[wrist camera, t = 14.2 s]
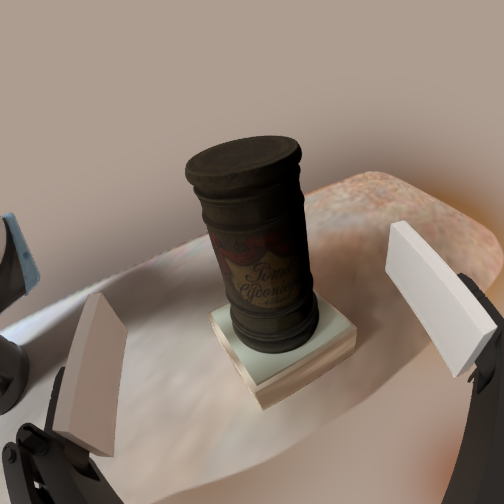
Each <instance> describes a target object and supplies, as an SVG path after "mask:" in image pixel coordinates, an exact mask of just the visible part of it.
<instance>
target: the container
mask: <svg viewBox="0 0 504 504" xmlns="http://www.w3.org/2000/svg"><path fill="white" fill-rule="evenodd" d="M301 157H302V151H301V148H300V145H299V144H298V142H297V141H296V140H294V139H292V138H289V137H284V136H256V137H249V138H243V139H238V140H233V141H229V142H226V143H222V144H219V145H216V146H214V147H211V148H208V149H206V150H204V151H202V152H200V153H198V154H197V155H195V156H193V157H192V158H191V159H190V160H189V161H188V162H187V164H186V168H185V175H186V178H187V180H188V182H189V183H190V184H192V185H193V186H194V187H193V188H194V189H193V190H194V193H195V194H196V195H197V197H198V199H199V200H200V202H201V206H202V209H203V210H202V218H203V221H204V223H205V224H206V226H207V229H208V232H209V236H210V239H211V243H212V246H213V249H214V252H215V255H216V257H217V260H218V263H219V267H220V270H221V273H222V276H223V279H224V283H225V286H226V296H227V299H228V301H229V302H230V317H231V320H232V325H233V329H234V332H235V334H236V335H237V337H238V338H239V339H240V340H241V342H242V343H243V344H245V345H246V346H247V347H249V348H251V349H252V350H255V351H257V352H261V353H266V354H280V353H285V352H289V351H292V350H295V349H297V348H299V347H300V346H302V345H303V344H305V343H306V342H307V341H308V340H309V339H310V338H311V337H312V335H313V334H314V332H315V330H316V328H317V326H318V323H319V308H318V300H317V297H316V294H315V292H314V291H313V276H312V274H311V271H310V262H309V251H308V241H307V230H306V221H305V212H304V201H305V199H304V195H303V193H302V191H301V189H300V182H299V176H300V175H299V174H300V171H301V169H300V166H299V164H298V163H299V162H300V160H301Z"/></svg>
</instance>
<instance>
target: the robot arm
mask: <svg viewBox="0 0 504 504" xmlns="http://www.w3.org/2000/svg"><path fill="white" fill-rule="evenodd" d="M385 271H386V273H387V274H388V275H389V277H390V278H391V280H392V281H393V282H394V284H395V285H396V287H397V288H398V289H399V291H400V292H401V294H402V295H403V297H404V298H405V300H406V301H407V302H408V304H409V305H410V307H411V308H412V310H413V311H414V313H415V314H416V316H417V318H418V319H419V321H420V322H421V324H422V325H423V327H424V328H425V330H426V331H427V333H428V335H429V336H430V338H431V339H432V341H433V343H434V344H435V346H436V348H437V349H438V351H439V353H440V354H441V356H442V358H443V359H444V361H445V363H446V364H447V366H448V368H449V370H450V371H451V373H452V375H453V377H454V378H456V377H458V376H460V375H461V374H463V373H465V372H466V371H468V370H469V369H470V367H471V366H472V365H473V363H474V362H475V364H476V366H477V368H476V369H475V371H474V372H473V373H472V375H471V376H470V377H469V379H468V382H470V381H471V380H472V379H473V378H474V382H473V390H472V396H471V403H470V408H469V413H468V418H467V423H466V427H465V432H464V436H463V440H462V444H461V447H460V451H459V454H458V458H457V462H456V464H455V468H454V471H453V474H452V477H451V480H450V482H449V485H448V488H447V490H446V493H445V496H444V498H443V501H442V503H441V504H504V318H503V317H502V316H501V315H500V313H499V312H498V311H497V309H496V308H495V307H494V306H493V304H492V303H491V302H490V301H489V299H488V298H487V297H485V294H484V293H483V292H482V291H481V290H479V287H478V286H477V285H476V284H475V283H474V281H473V280H472V279H470V278H469V277H467V276H466V275H464V274H463V273H460V274H457V275H456V274H455V273H454V272H453V271H452V269H451V268H450V267H449V266H448V265H447V264H446V263H445V262H444V261H443V259H442V258H441V257H440V256H439V255H438V254H437V253H436V252H435V251H434V250H433V249H432V248H431V247H430V246H429V245H428V243H427V242H426V241H425V240H424V239H423V238H422V237H421V236H420V235H419V234H418V233H417V232H416V231H415V230H414V229H413V228H412V227H411V226H410V225H409V224H408V223H407V222H406V221H405V220H404V221H400V222H395V223H391V227H390V236H389V245H388V253H387V260H386V267H385ZM39 281H40V273H39V270H38V268H37V266H36V263H35V261H34V259H33V257H32V254H31V252H30V250H29V248H28V246H27V244H26V241H25V239H24V236H23V234H22V232H21V229H20V227H19V225H18V222H17V220H16V217H15V216H14V214H13V213H8V214H5V215H3V216H2V218H1V217H0V315H1V314H2V313H3V312H4V311H6V310H7V309H8V308H9V307H11V306H12V305H13V304H14V303H16V302H17V301H18V300H19V299H21V298H22V297H23V296H27V295H28V293H29V292H30V291H31V290H32V289H33V288H34V287H35V286H37V284H38V283H39ZM127 333H128V330H127V329H126V328H125V326H124V325H123V323H122V322H121V321H120V319H119V318H118V316H117V315H116V313H115V312H114V310H113V309H112V307H111V306H110V304H109V303H108V301H107V300H106V298H105V297H104V295H103V294H102V292H98V293H94V294H89V295H88V297H87V299H86V302H85V305H84V308H83V311H82V314H81V317H80V320H79V323H78V326H77V329H76V332H75V335H74V339H73V342H72V345H71V349H70V352H69V356H68V360H67V363H66V367H61V369H60V370H59V372H58V374H57V375H56V377H55V381H54V385H53V390H52V394H51V399H50V403H49V407H48V412H47V417H46V423H45V428H44V431H42V430H41V429H39V428H38V427H36V426H35V425H33V424H31V423H25V424H23V425H22V426H21V427H20V428H19V429H18V432H17V435H16V444H15V443H13V442H8V443H7V444H6V445H5V446H4V448H3V451H2V462H3V468H4V474H5V479H6V484H7V489H8V493H9V497H10V501H11V504H124V503H123V502H122V500H121V499H120V498H119V497H118V495H117V494H116V493H115V491H114V490H113V489H112V487H111V486H110V484H109V483H108V482H107V480H106V479H105V477H104V476H103V474H102V473H101V472H100V470H99V469H98V467H97V466H96V464H95V462H94V461H93V460H92V459H91V458H90V457H89V452H91V453H93V454H95V455H97V456H102V457H114V441H115V427H116V415H117V404H118V395H119V386H120V379H121V371H122V364H123V357H124V351H125V345H126V339H127ZM28 371H29V362H28V358H27V355H26V354H25V353H24V351H23V350H22V349H21V348H20V347H19V346H18V345H17V344H15V343H13V342H11V341H8V340H7V339H6V338H4V337H3V336H1V335H0V415H1V414H3V413H5V412H6V411H8V410H9V409H10V408H11V407H12V406H13V405H14V404H15V402H16V401H17V400H18V398H19V396H20V395H21V393H22V391H23V389H24V386H25V384H26V381H27V377H28ZM34 481H35V482H37V483H39V489H38V488H36V487H35V485H34Z"/></svg>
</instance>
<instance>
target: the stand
mask: <svg viewBox="0 0 504 504" xmlns="http://www.w3.org/2000/svg"><path fill="white" fill-rule="evenodd" d="M313 291H314V292H315V294H316V297H317V300H318V308H319V323H318V326H317V328H316V330H315V332H314V334H313V335H312V337H311V338H310V339H309V340H308V341H307V342H306V343H305V344H303V345H302V346H300V347H299V348H297V349H295V350H292V351H289V352H285V353H280V354H266V353H261V352H257V351H255V350H252V349H251V348H249V347H247V346H246V345H245V344H243V343H242V342H241V340H240V339H239V338H238V337H237V335H236V334H235V332H234V329H233V325H232V320H231V317H230V303H228V304H226V305H224V306H222V307H220V308H218V309H216V310H214V311H212V312H210V313H208V314H207V316H208V318H209V321H210V323H211V325H212V327H213V329H214V332H215V334H216V336H217V338H218V340H219V341H220V343H221V345H222V346H223V348H224V350H225V351H226V353H227V355H228V356H229V358H230V360H231V361H232V363H233V365H234V366H235V368H236V369H237V371H238V373H239V374H240V376H241V377H242V379H243V381H244V382H245V384H246V385H247V387H248V389H249V390H250V392H251V393H252V395H253V396H254V398H255V399H256V401H257V402H258V404H259V405H260V407H261V408H262V410H265V409H267V408H268V407H270V406H272V405H274V404H275V403H277V402H279V401H281V400H282V399H284V398H286V397H287V396H289V395H291V394H292V393H294V392H296V391H297V390H299V389H301V388H302V387H304V386H305V385H307V384H309V383H310V382H312V381H313V380H315V379H316V378H318V377H320V376H321V375H323V374H324V373H326V372H327V371H329V370H330V369H331V368H333V367H334V366H336V365H337V364H339V363H340V362H342V361H343V360H344V359H346V358H347V357H349V356H350V355H351V354H353V353H354V351H355V344H356V337H357V329H358V328H357V327H356V326H355V325H354V324H353V323H351V322H350V321H349V320H348V319H347V318H346V317H345V316H344V315H343V314H342V313H340V312H339V311H338V310H337V309H336V308H335V307H334V306H333V305H332V304H330V303H329V302H328V301H327V300H326V299H325V298H324V297H323V296H321V295H320V294H319V293H318V292H317V291H316V290H315V289H314V288H313Z"/></svg>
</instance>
